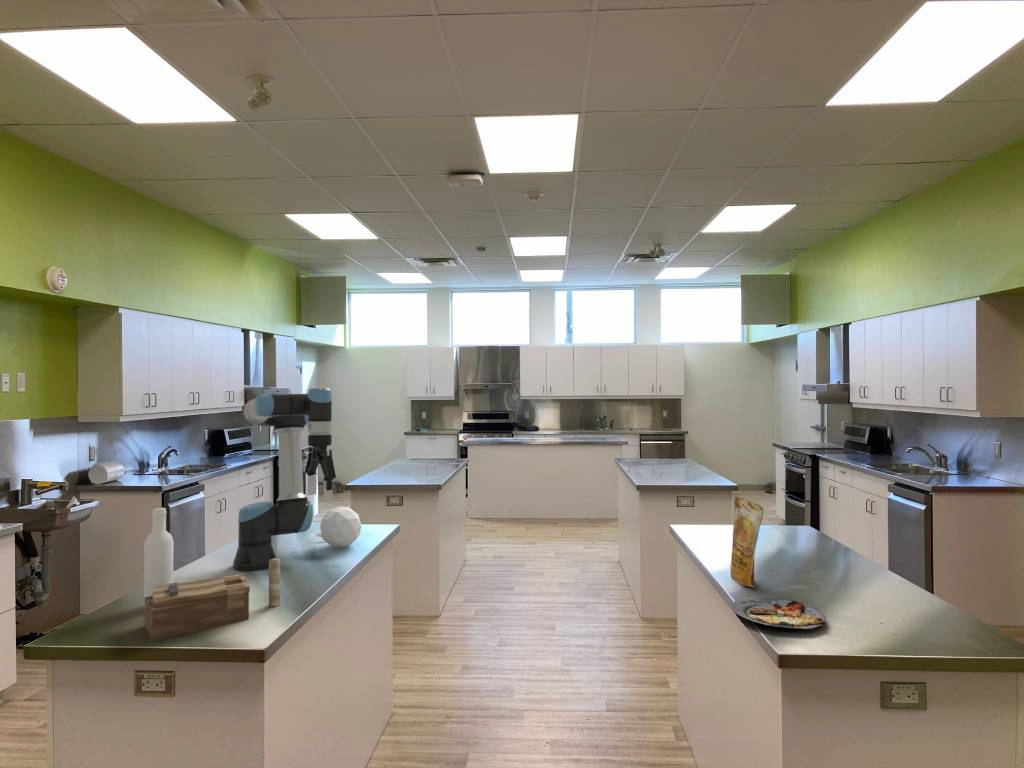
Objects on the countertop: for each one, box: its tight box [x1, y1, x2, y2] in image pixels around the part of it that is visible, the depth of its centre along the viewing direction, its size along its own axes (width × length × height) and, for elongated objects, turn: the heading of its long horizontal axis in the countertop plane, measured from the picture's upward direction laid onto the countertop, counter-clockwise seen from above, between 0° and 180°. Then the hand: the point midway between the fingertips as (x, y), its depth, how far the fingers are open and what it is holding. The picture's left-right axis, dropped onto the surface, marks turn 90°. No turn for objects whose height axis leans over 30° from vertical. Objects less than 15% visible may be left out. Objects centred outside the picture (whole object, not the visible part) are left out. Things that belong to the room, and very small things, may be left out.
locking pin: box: [268, 557, 281, 608], centre depth 183 cm, size 3×3×14 cm
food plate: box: [731, 596, 827, 630], centre depth 172 cm, size 25×23×4 cm
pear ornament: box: [315, 506, 362, 548], centre depth 254 cm, size 16×22×28 cm
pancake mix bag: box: [730, 496, 764, 588], centre depth 206 cm, size 7×19×28 cm, turn 0°
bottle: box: [143, 507, 175, 610], centre depth 182 cm, size 8×8×30 cm
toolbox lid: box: [153, 573, 251, 608], centre depth 171 cm, size 14×24×3 cm, turn 122°
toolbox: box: [143, 592, 250, 642], centre depth 169 cm, size 14×24×8 cm, turn 130°
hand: (319, 497), depth 198 cm, fingers open, 13 cm apart
